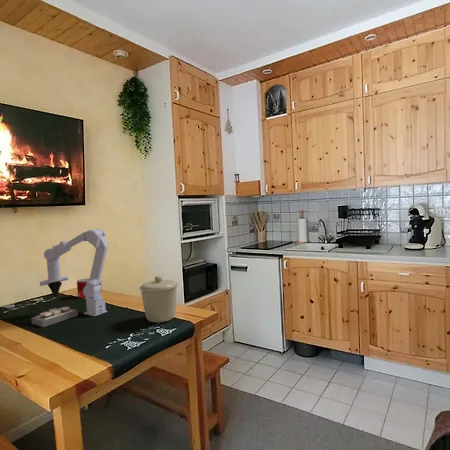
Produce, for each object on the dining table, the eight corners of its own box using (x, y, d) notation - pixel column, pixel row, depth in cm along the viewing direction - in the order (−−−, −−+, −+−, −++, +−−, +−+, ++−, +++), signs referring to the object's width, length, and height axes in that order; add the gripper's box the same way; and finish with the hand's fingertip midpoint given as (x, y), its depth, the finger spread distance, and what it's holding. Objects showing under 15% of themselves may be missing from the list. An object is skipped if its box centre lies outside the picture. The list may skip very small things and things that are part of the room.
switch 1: (51, 314, 163) (51, 312, 163) (45, 316, 161) (45, 313, 161) (46, 313, 166) (46, 311, 166) (40, 315, 164) (39, 313, 164)
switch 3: (69, 308, 171) (68, 306, 171) (63, 310, 168) (63, 308, 168) (63, 309, 174) (63, 306, 174) (57, 310, 171) (57, 308, 171)
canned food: (88, 298, 206) (87, 280, 206) (75, 298, 206) (74, 281, 206) (93, 295, 214) (92, 278, 213) (81, 295, 214) (80, 278, 213)
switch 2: (60, 313, 167) (60, 310, 167) (54, 314, 165) (55, 312, 164) (54, 309, 170) (54, 307, 170) (49, 311, 167) (49, 309, 167)
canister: (163, 311, 173) (160, 270, 172) (187, 317, 162) (185, 274, 161) (133, 321, 159) (130, 277, 158) (158, 328, 148) (155, 281, 147)
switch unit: (77, 315, 172) (77, 309, 172) (42, 327, 157) (42, 320, 157) (66, 313, 178) (66, 307, 178) (31, 323, 163) (31, 317, 162)
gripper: (62, 268, 184) (64, 292, 185) (35, 273, 172) (37, 299, 173) (69, 268, 180) (71, 293, 181) (43, 274, 168) (45, 300, 169)
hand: (55, 296), depth 177 cm, fingers closed
